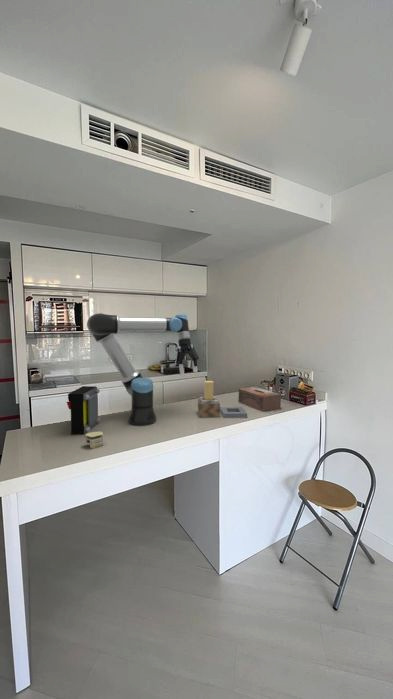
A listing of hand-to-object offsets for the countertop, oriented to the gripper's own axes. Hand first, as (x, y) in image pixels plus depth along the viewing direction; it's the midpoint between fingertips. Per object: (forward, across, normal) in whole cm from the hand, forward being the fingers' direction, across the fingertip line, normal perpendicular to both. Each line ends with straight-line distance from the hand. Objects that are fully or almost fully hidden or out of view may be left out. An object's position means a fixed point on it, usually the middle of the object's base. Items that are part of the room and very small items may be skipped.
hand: (188, 373), depth 176 cm
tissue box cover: (+27, -9, -48) cm, 56 cm away
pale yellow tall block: (+18, -6, -8) cm, 21 cm away
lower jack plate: (+28, -12, -20) cm, 37 cm away
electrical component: (+22, +16, +58) cm, 65 cm away
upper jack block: (+26, -4, -8) cm, 27 cm away
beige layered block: (+28, -7, +62) cm, 69 cm away
